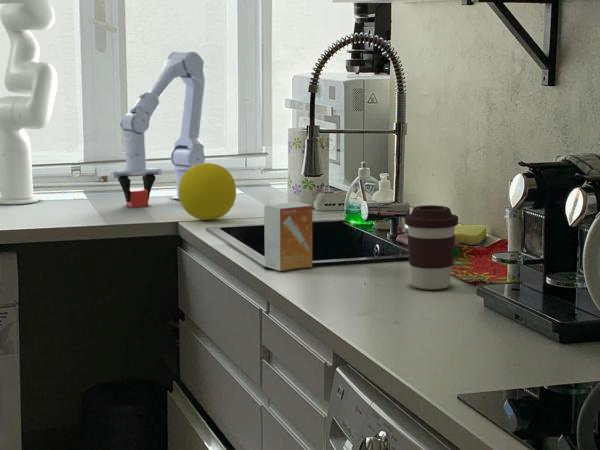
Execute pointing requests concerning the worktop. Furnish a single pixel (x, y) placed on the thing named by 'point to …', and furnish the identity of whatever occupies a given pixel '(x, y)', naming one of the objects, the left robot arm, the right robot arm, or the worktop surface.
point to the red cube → (138, 198)
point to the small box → (288, 236)
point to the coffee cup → (431, 245)
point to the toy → (207, 191)
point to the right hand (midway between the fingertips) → (137, 200)
